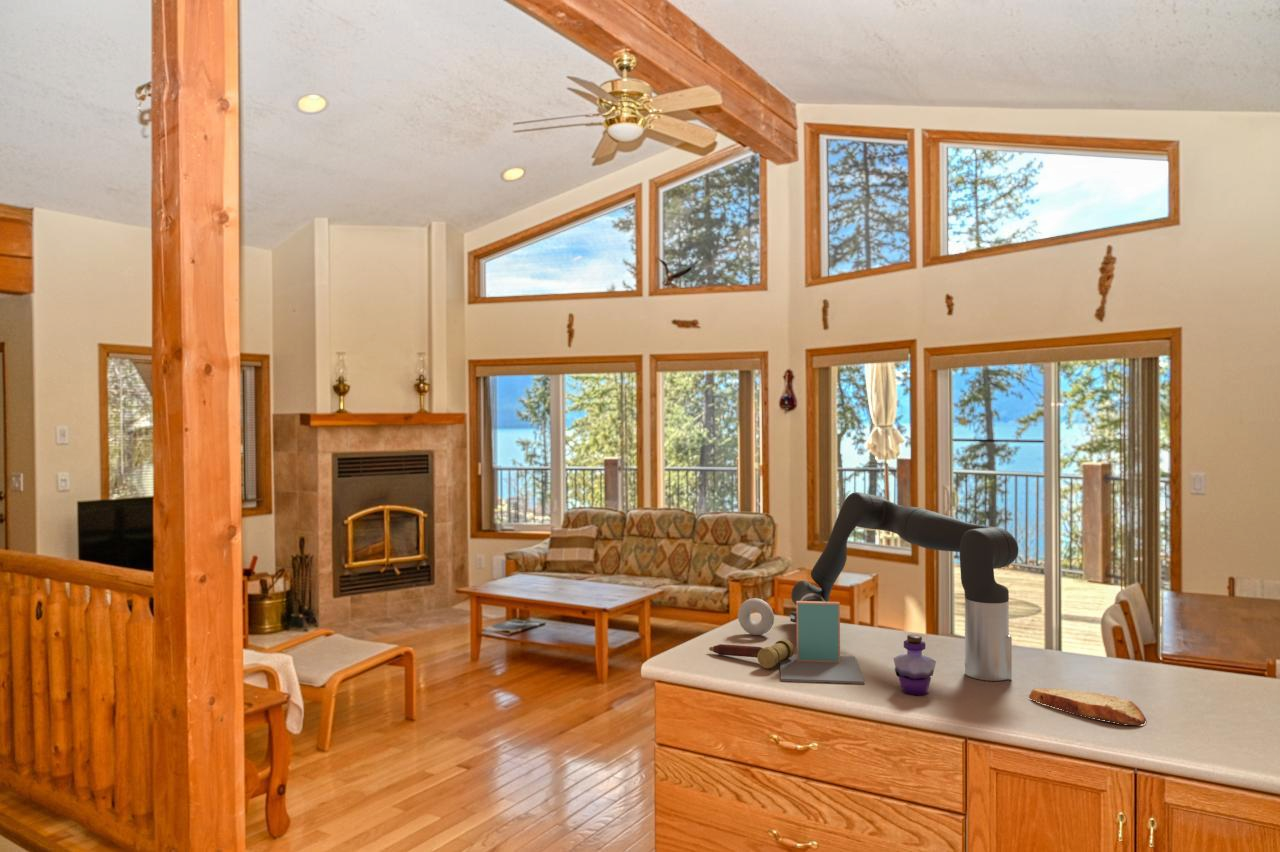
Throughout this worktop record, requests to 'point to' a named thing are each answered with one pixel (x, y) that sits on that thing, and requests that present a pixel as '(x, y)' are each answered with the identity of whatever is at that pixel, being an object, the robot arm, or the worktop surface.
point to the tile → (818, 631)
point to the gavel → (759, 652)
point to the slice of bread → (1091, 705)
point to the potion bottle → (914, 667)
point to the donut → (765, 613)
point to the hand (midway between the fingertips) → (816, 625)
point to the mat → (821, 671)
